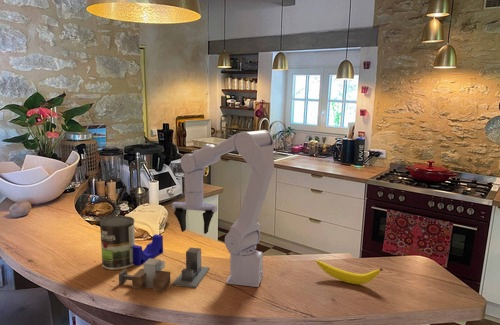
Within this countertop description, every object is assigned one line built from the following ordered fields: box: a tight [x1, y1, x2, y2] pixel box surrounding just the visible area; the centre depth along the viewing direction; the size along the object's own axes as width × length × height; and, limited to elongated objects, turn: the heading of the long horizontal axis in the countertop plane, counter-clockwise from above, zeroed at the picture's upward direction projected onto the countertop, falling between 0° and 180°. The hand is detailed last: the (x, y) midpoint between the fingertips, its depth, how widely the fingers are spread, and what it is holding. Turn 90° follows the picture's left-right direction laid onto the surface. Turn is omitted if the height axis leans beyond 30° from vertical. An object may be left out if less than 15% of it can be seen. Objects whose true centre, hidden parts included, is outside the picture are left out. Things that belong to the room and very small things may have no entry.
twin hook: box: [142, 258, 166, 289], centre depth 108 cm, size 7×13×7 cm, turn 168°
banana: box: [315, 259, 383, 285], centre depth 106 cm, size 3×19×6 cm, turn 65°
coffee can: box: [99, 215, 136, 271], centre depth 116 cm, size 10×10×14 cm
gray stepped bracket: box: [181, 247, 202, 282], centre depth 108 cm, size 4×8×7 cm, turn 168°
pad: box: [172, 266, 210, 289], centre depth 108 cm, size 7×12×1 cm, turn 168°
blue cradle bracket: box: [132, 234, 164, 267], centre depth 121 cm, size 12×4×6 cm, turn 156°
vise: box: [118, 268, 171, 293], centre depth 103 cm, size 14×5×4 cm, turn 78°
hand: (194, 231), depth 118 cm, fingers open, 7 cm apart
